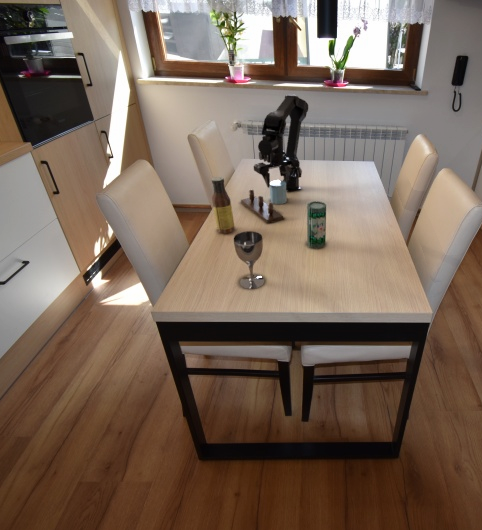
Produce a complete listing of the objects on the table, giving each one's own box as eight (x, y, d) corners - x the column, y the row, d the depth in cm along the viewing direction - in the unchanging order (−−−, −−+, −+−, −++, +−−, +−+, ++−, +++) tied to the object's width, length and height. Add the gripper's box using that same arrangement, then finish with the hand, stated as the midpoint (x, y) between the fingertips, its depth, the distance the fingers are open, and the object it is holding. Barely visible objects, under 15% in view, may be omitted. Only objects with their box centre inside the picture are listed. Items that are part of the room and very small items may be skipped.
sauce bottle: (238, 228, 144) (232, 177, 133) (227, 235, 139) (220, 183, 129) (224, 225, 146) (217, 174, 136) (213, 231, 142) (205, 179, 131)
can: (312, 250, 133) (312, 210, 125) (305, 242, 138) (304, 203, 129) (327, 246, 136) (329, 207, 127) (320, 238, 140) (321, 200, 132)
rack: (256, 199, 168) (254, 185, 164) (283, 219, 152) (282, 203, 149) (241, 203, 164) (239, 188, 160) (267, 223, 149) (266, 208, 145)
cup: (281, 196, 171) (280, 179, 167) (289, 201, 167) (289, 184, 162) (267, 199, 168) (266, 182, 163) (276, 205, 163) (275, 187, 159)
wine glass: (240, 274, 119) (235, 231, 111) (266, 274, 120) (263, 231, 112) (237, 289, 113) (231, 245, 104) (264, 289, 113) (261, 244, 105)
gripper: (285, 140, 165) (287, 175, 174) (245, 146, 155) (249, 183, 164) (300, 146, 158) (300, 183, 166) (258, 153, 148) (261, 192, 157)
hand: (278, 185), depth 163 cm, fingers open, 9 cm apart
